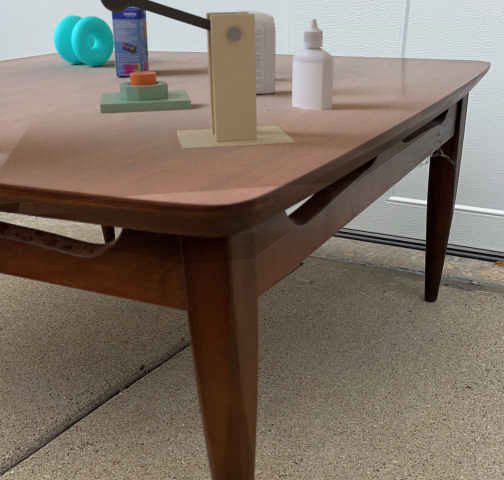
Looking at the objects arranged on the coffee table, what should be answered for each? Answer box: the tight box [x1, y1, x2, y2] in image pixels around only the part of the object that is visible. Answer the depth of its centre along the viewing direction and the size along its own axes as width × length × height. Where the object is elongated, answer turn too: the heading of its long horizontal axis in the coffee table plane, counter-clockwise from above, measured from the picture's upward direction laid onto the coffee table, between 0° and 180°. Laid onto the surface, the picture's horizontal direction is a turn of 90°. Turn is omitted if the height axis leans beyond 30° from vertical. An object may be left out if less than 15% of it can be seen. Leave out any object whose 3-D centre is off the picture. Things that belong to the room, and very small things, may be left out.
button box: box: [99, 79, 192, 114], centre depth 96 cm, size 12×10×4 cm
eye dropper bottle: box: [291, 18, 334, 111], centre depth 90 cm, size 4×6×12 cm
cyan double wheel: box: [53, 14, 114, 67], centre depth 149 cm, size 10×10×10 cm
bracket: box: [176, 11, 296, 150], centre depth 74 cm, size 12×9×14 cm
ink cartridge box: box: [111, 5, 150, 78], centre depth 132 cm, size 10×6×14 cm, turn 1°
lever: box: [100, 0, 211, 31], centre depth 70 cm, size 15×3×3 cm, turn 100°
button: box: [129, 70, 157, 85], centre depth 95 cm, size 4×4×2 cm
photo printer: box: [231, 10, 277, 95], centre depth 107 cm, size 10×4×12 cm, turn 105°
